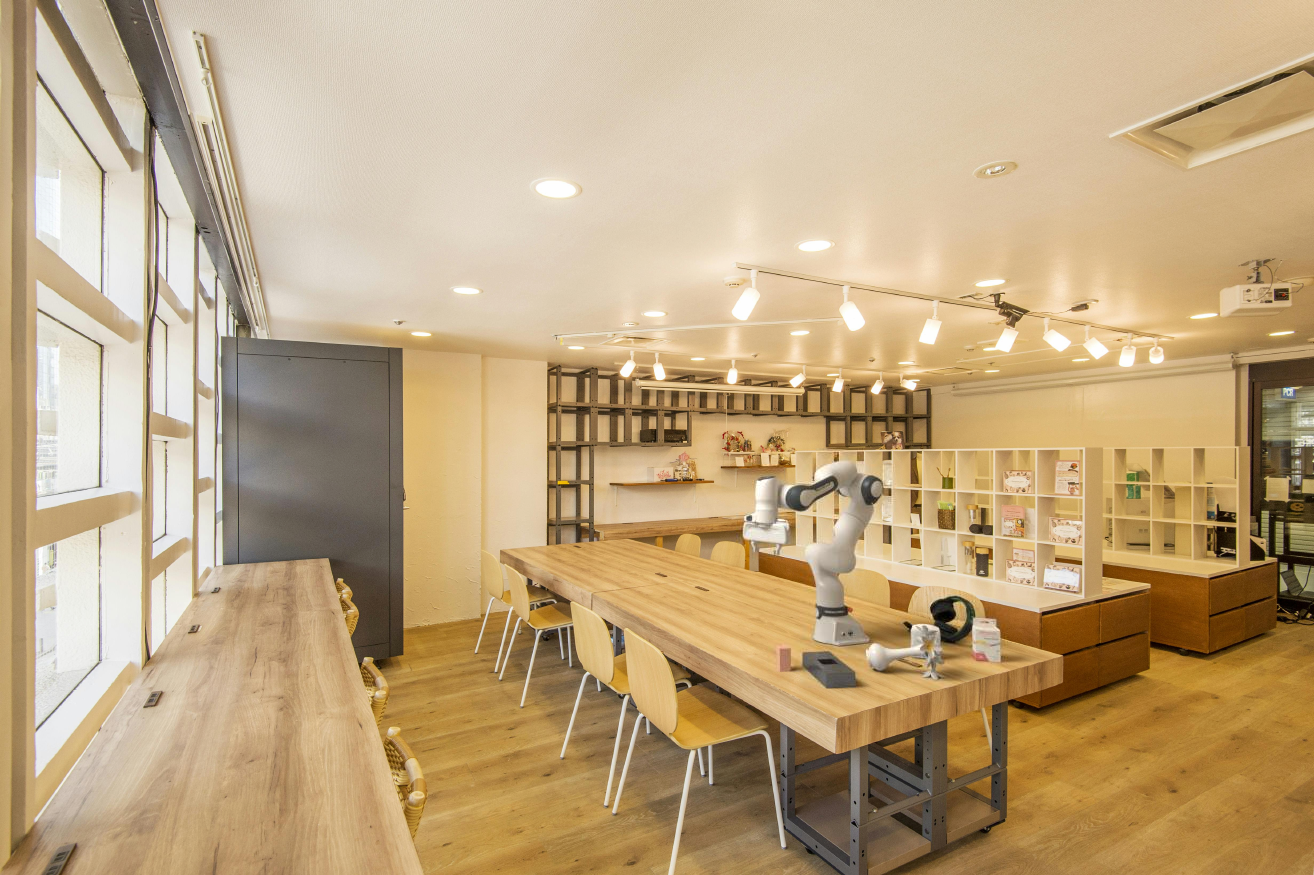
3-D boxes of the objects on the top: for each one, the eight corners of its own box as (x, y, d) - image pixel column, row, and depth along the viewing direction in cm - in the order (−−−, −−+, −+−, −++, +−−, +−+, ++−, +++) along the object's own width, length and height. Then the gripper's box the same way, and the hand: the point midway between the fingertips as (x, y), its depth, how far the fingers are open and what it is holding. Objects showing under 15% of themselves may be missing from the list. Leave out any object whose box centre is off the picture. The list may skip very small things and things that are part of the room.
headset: (927, 655, 261) (983, 637, 239) (901, 643, 258) (956, 624, 236) (925, 615, 272) (978, 595, 250) (900, 604, 269) (952, 582, 247)
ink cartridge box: (975, 661, 227) (974, 620, 227) (972, 656, 232) (971, 617, 232) (1001, 662, 225) (1000, 622, 225) (997, 658, 230) (996, 618, 230)
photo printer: (940, 657, 231) (939, 624, 232) (941, 660, 227) (941, 627, 228) (910, 654, 234) (909, 621, 235) (911, 658, 230) (911, 624, 231)
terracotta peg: (787, 667, 220) (787, 644, 221) (790, 671, 216) (790, 648, 217) (776, 668, 220) (776, 645, 220) (779, 671, 216) (779, 648, 216)
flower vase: (876, 693, 213) (953, 683, 205) (861, 644, 212) (938, 631, 204) (875, 674, 225) (947, 664, 217) (860, 627, 224) (932, 615, 216)
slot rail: (829, 664, 223) (828, 651, 223) (855, 686, 201) (855, 672, 202) (802, 665, 222) (802, 652, 222) (826, 688, 200) (826, 673, 200)
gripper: (794, 519, 234) (794, 556, 233) (750, 515, 248) (750, 550, 248) (784, 520, 229) (784, 557, 229) (740, 516, 244) (740, 551, 243)
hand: (766, 553), depth 238 cm, fingers open, 8 cm apart
